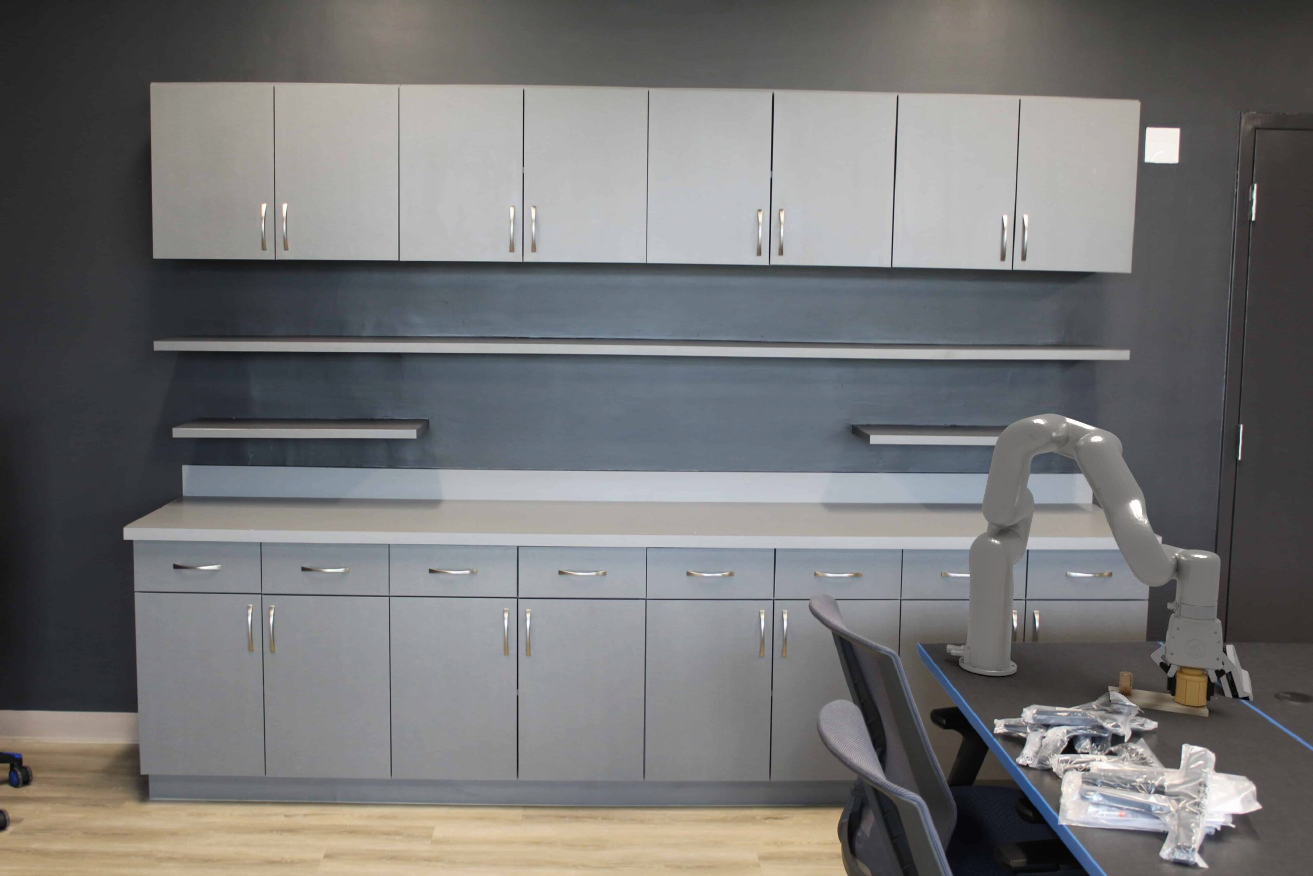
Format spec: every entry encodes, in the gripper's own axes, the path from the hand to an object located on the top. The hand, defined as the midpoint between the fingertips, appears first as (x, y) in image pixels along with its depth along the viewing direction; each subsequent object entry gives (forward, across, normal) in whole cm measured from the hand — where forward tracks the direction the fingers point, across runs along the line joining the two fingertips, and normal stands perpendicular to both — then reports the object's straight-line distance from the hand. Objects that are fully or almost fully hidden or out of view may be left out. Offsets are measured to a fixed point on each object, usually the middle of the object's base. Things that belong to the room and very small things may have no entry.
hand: (1189, 695), depth 205 cm
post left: (+1, -12, 0) cm, 12 cm away
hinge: (+3, +10, +18) cm, 21 cm away
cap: (+1, 0, 0) cm, 1 cm away
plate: (+3, -6, 0) cm, 7 cm away
